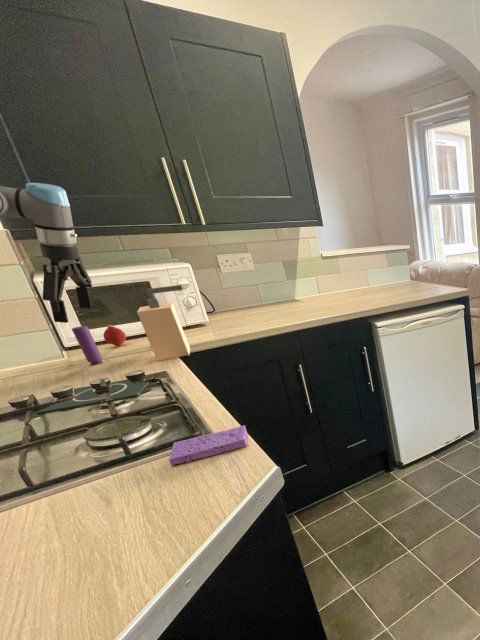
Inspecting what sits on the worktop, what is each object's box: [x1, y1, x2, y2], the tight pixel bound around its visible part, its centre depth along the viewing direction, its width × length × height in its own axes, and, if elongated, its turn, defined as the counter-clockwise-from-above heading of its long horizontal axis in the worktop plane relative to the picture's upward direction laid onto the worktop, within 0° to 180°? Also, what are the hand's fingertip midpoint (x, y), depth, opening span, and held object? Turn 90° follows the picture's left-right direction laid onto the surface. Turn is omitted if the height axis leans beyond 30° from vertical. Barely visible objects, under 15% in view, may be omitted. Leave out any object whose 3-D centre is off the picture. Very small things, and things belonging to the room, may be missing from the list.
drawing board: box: [36, 375, 155, 415], centre depth 112 cm, size 20×15×1 cm
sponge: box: [168, 425, 248, 466], centre depth 83 cm, size 7×13×2 cm, turn 119°
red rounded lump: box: [103, 324, 127, 347], centre depth 151 cm, size 6×6×8 cm
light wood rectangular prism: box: [136, 284, 191, 362], centre depth 137 cm, size 13×9×22 cm
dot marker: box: [71, 325, 103, 366], centre depth 133 cm, size 4×4×12 cm
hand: (74, 314), depth 128 cm, fingers open, 13 cm apart
